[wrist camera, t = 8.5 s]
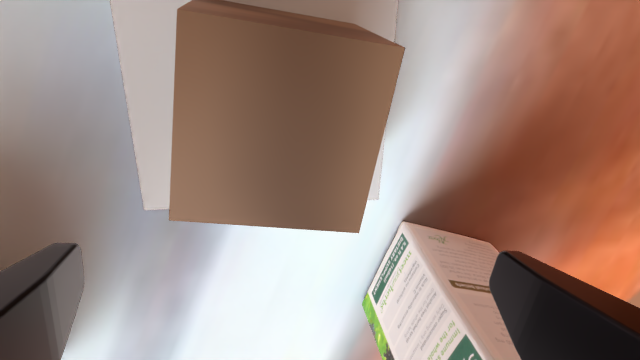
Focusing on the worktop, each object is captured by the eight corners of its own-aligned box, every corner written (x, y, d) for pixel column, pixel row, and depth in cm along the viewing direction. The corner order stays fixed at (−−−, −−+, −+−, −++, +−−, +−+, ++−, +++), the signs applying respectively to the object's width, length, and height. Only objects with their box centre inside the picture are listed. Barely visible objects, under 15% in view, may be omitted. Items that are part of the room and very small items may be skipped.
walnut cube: (190, 147, 15) (168, 220, 11) (199, -4, 13) (176, 9, 9) (327, 161, 16) (358, 233, 12) (354, 23, 14) (405, 48, 10)
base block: (162, 167, 20) (143, 210, 16) (132, -59, 16) (98, -69, 12) (356, 161, 21) (378, 199, 17) (370, -49, 17) (403, -55, 14)
